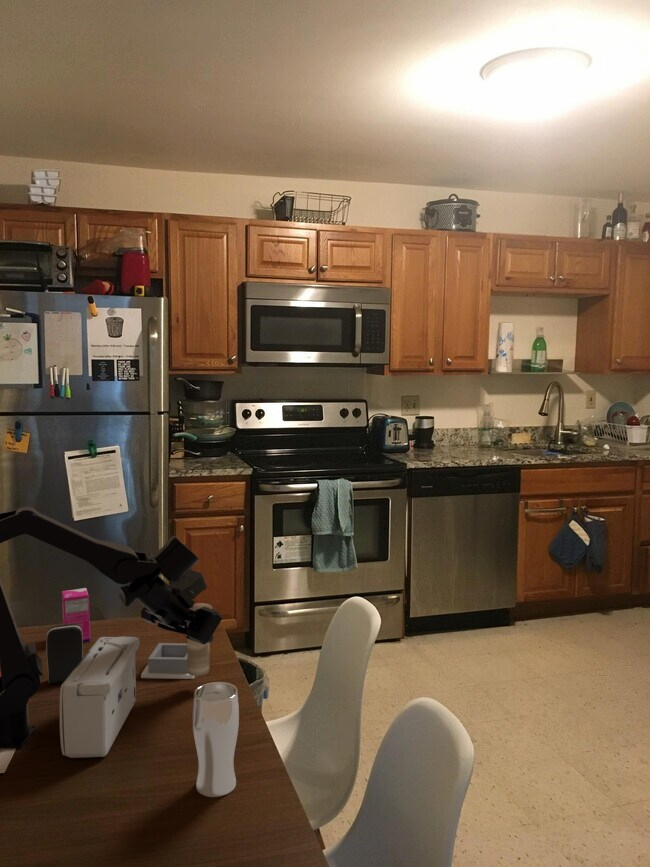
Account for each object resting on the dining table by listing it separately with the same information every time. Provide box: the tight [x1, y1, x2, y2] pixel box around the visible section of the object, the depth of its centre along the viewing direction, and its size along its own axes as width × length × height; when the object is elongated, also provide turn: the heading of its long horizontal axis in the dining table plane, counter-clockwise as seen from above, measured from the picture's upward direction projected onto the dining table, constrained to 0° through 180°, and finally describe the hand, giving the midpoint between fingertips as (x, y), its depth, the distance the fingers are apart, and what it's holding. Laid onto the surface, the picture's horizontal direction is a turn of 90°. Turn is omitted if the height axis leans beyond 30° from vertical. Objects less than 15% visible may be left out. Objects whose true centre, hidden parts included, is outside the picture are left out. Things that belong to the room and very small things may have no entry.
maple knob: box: [186, 602, 213, 677], centre depth 133 cm, size 6×6×13 cm
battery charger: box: [45, 623, 84, 685], centre depth 138 cm, size 7×4×11 cm, turn 112°
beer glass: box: [192, 681, 240, 798], centre depth 102 cm, size 7×7×15 cm
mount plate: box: [140, 642, 196, 680], centre depth 144 cm, size 10×11×4 cm
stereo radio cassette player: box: [59, 636, 140, 759], centre depth 118 cm, size 21×8×20 cm, turn 1°
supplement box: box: [61, 587, 92, 643], centre depth 159 cm, size 6×6×12 cm
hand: (203, 637), depth 134 cm, fingers closed on maple knob, 5 cm apart
